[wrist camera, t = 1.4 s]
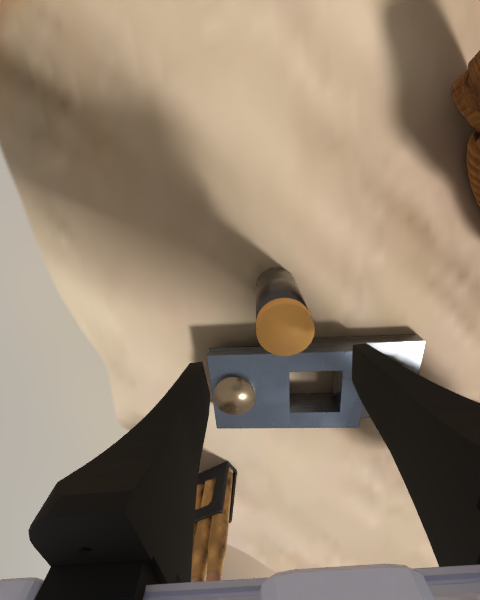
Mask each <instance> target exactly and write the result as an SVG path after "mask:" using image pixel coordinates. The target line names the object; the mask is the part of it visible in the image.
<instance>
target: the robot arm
mask: <svg viewBox="0 0 480 600" xmlns="http://www.w3.org/2000/svg"><path fill="white" fill-rule="evenodd" d="M352 381H353V384H354V386H355V389H356V391H357V393H358V396H359V398H360V400H361V402H362V404H363V405H364V407H365V409H366V410H367V412H368V414H369V416H370V417H371V419H372V421H373V422H374V424H375V426H376V428H377V429H378V431H379V433H380V434H381V436H382V438H383V440H384V441H385V443H386V445H387V447H388V449H389V450H390V452H391V454H392V456H393V458H394V461H395V463H396V465H397V467H398V469H399V471H400V474H401V476H402V478H403V480H404V482H405V485H406V487H407V489H408V491H409V494H410V496H411V498H412V500H413V503H414V505H415V507H416V510H417V512H418V515H419V517H420V519H421V522H422V524H423V527H424V529H425V531H426V534H427V536H428V539H429V541H430V544H431V546H432V549H433V552H434V554H435V557H436V559H437V562H438V564H439V567H432V568H416V569H411V568H409V567H407V566H405V565H396V564H373V565H358V566H342V567H326V568H310V569H294V570H289V571H284V572H279V573H276V574H274V575H273V576H271V577H269V578H253V579H238V580H222V581H204V582H191V570H192V550H193V534H194V518H195V506H196V493H197V483H198V472H199V465H200V459H201V453H202V448H203V443H204V438H205V432H206V427H207V422H208V416H209V405H210V392H209V388H208V384H207V379H206V375H205V371H204V367H203V363H202V362H197V363H190V364H189V365H188V366H187V368H186V369H185V370H184V372H183V373H182V374H181V376H180V377H179V378H178V379H177V381H176V382H175V383H174V385H173V386H172V387H171V388H170V390H169V391H168V392H167V393H166V395H165V396H164V397H163V398H162V399H161V400H160V401H159V403H158V404H157V405H156V406H155V407H154V408H153V409H152V410H151V411H150V412H149V413H148V414H147V415H146V416H145V417H144V418H143V419H142V420H141V421H140V422H139V423H138V424H137V425H136V426H135V427H134V428H133V429H131V430H130V431H129V432H128V433H127V434H125V435H124V436H123V437H122V438H121V439H120V440H118V441H117V442H116V443H115V444H113V445H112V446H111V447H110V448H108V449H107V450H106V451H104V452H103V453H102V454H100V455H99V456H97V457H96V458H95V459H93V460H92V461H90V462H89V463H87V464H86V465H84V466H83V467H81V468H79V469H78V470H76V471H75V472H73V473H72V474H70V475H69V476H67V477H65V478H64V479H62V480H60V481H59V482H57V484H56V485H55V487H54V489H53V490H52V492H51V494H50V495H49V497H48V498H47V500H46V502H45V503H44V505H43V507H42V508H41V510H40V511H39V513H38V514H37V516H36V518H35V519H34V521H33V522H32V524H31V526H30V529H29V537H30V541H31V543H32V544H33V546H34V547H35V548H36V550H38V552H39V553H40V554H41V555H42V557H43V558H44V559H45V560H46V561H47V562H48V564H49V565H50V566H51V568H50V570H49V572H48V574H47V576H46V578H45V580H44V581H43V580H41V579H38V578H16V579H2V580H0V600H480V403H478V402H476V401H473V400H470V399H468V398H466V397H463V396H461V395H459V394H456V393H454V392H452V391H450V390H448V389H446V388H443V387H441V386H439V385H437V384H435V383H433V382H431V381H429V380H427V379H426V378H424V377H422V376H420V375H418V374H416V373H414V372H413V371H411V370H409V369H408V368H406V367H404V366H402V365H401V364H399V363H397V362H396V361H394V360H393V359H391V358H389V357H388V356H386V355H385V354H383V353H381V352H380V351H378V350H377V349H375V348H373V347H372V346H370V345H368V344H367V343H363V344H354V345H353V353H352Z"/></svg>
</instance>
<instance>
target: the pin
mask: <svg viewBox="0 0 480 600" xmlns="http://www.w3.org/2000/svg"><path fill="white" fill-rule="evenodd" d="M314 333H315V326H314V322H313V320H312V317H311V315H310V313H309V311H308V309H307V306H306V304H305V302H304V300H303V298H302V296H301V293H300V291H299V289H298V287H297V285H296V282H295V280H294V278H293V276H292V275H291V274H290V273H289V272H288V271H287V270H285V269H282V268H270V269H268V270H266V271H264V272H263V273H262V274H261V275H260V277H259V278H258V281H257V291H256V335H257V339H258V341H259V343H260V344H261V346H262V347H263V348H264V349H265V350H267V351H268V352H270V353H272V354H274V355H278V356H291V355H295V354H298V353H300V352H302V351H303V350H304V349H306V348H307V347H308V346H309V344H310V343H311V341H312V340H313V337H314Z"/></svg>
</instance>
